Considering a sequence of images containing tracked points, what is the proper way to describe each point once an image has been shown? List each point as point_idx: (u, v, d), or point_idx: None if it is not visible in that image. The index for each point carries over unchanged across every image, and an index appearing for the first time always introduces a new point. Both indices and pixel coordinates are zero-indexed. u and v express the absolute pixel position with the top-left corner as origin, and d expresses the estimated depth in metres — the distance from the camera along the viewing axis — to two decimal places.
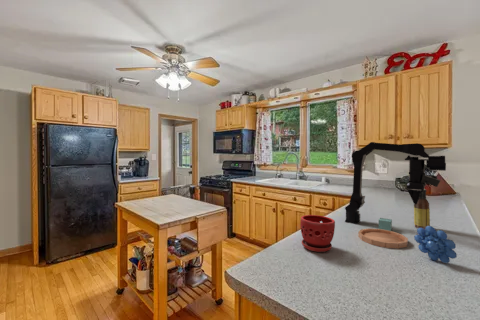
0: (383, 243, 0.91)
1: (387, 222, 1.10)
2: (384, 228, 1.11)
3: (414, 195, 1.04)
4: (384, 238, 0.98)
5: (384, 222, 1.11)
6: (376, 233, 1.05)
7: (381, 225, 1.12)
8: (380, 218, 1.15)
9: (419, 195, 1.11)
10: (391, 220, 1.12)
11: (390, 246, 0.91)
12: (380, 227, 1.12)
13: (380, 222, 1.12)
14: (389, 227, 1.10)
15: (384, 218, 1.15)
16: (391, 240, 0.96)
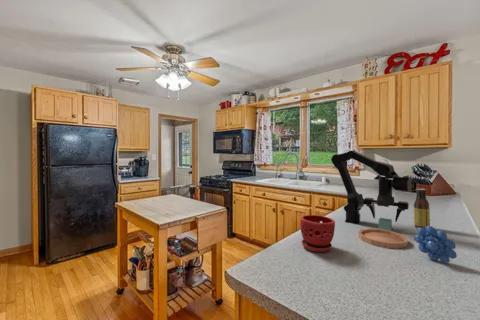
0: (383, 243, 0.91)
1: (387, 222, 1.10)
2: (384, 228, 1.11)
3: None
4: (384, 238, 0.98)
5: (384, 222, 1.11)
6: (376, 233, 1.05)
7: (381, 225, 1.12)
8: (380, 218, 1.15)
9: None
10: (391, 220, 1.12)
11: (390, 246, 0.91)
12: (380, 227, 1.12)
13: (380, 222, 1.12)
14: (389, 227, 1.10)
15: (384, 218, 1.15)
16: (391, 240, 0.96)
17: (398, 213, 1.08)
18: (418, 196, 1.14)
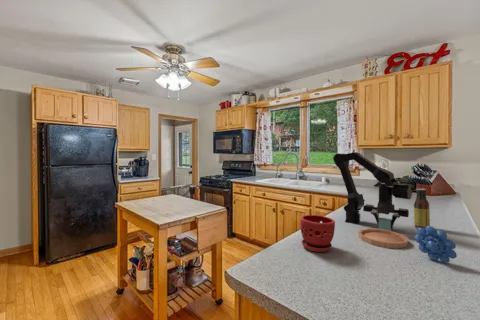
0: (383, 243, 0.91)
1: (387, 222, 1.10)
2: (384, 228, 1.11)
3: None
4: (384, 238, 0.98)
5: (384, 222, 1.11)
6: (376, 233, 1.05)
7: (381, 225, 1.12)
8: (380, 218, 1.15)
9: (391, 223, 1.11)
10: (391, 220, 1.12)
11: (390, 246, 0.91)
12: (380, 227, 1.12)
13: (380, 222, 1.12)
14: (389, 227, 1.10)
15: (384, 218, 1.15)
16: (391, 240, 0.96)
17: (393, 220, 1.09)
18: (418, 196, 1.14)
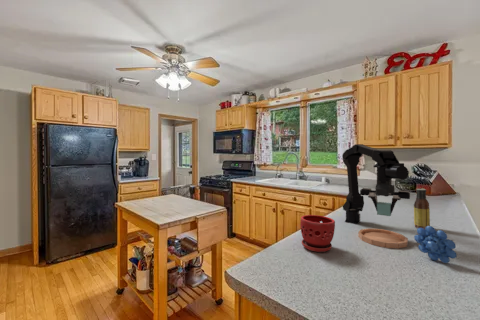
0: (383, 243, 0.91)
1: (386, 205, 1.00)
2: (383, 212, 1.00)
3: None
4: (384, 238, 0.98)
5: (383, 206, 1.00)
6: (376, 233, 1.05)
7: (380, 209, 1.01)
8: (378, 202, 1.05)
9: None
10: None
11: (390, 246, 0.91)
12: (379, 211, 1.02)
13: (379, 206, 1.01)
14: (389, 211, 0.99)
15: (383, 202, 1.05)
16: (391, 240, 0.96)
17: (393, 203, 0.99)
18: (418, 196, 1.14)
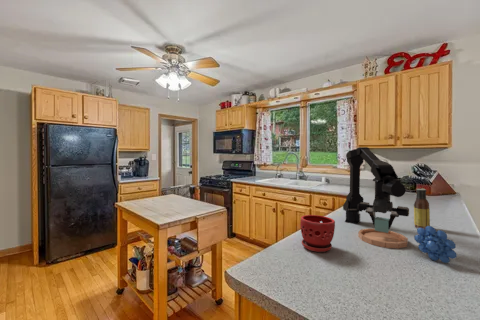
0: (383, 243, 0.91)
1: (384, 222, 0.97)
2: (381, 229, 0.97)
3: None
4: (384, 238, 0.98)
5: (381, 222, 0.97)
6: (376, 233, 1.05)
7: (377, 225, 0.98)
8: (376, 217, 1.01)
9: None
10: (389, 219, 0.99)
11: (390, 246, 0.91)
12: (376, 227, 0.98)
13: (376, 222, 0.98)
14: (386, 227, 0.96)
15: None
16: (391, 240, 0.96)
17: (391, 219, 0.96)
18: (418, 196, 1.14)
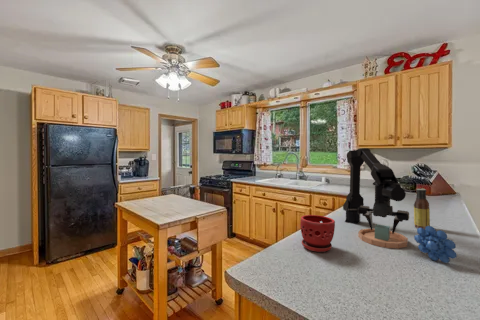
0: (383, 243, 0.91)
1: (384, 230, 0.97)
2: (381, 236, 0.97)
3: None
4: None
5: (381, 229, 0.97)
6: None
7: (377, 233, 0.98)
8: (376, 225, 1.01)
9: None
10: (389, 227, 0.99)
11: (390, 246, 0.91)
12: (376, 235, 0.98)
13: (376, 229, 0.98)
14: (387, 235, 0.96)
15: (381, 225, 1.01)
16: (391, 240, 0.96)
17: (395, 224, 0.95)
18: (418, 196, 1.14)
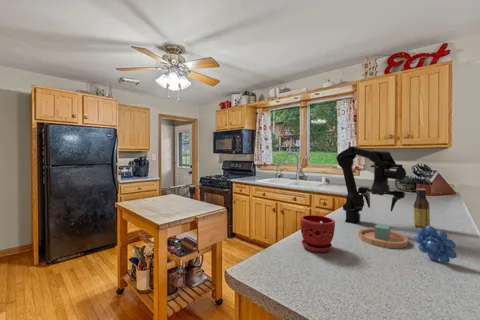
0: (383, 243, 0.91)
1: (384, 230, 0.97)
2: (381, 236, 0.97)
3: None
4: None
5: (381, 229, 0.97)
6: None
7: (377, 233, 0.98)
8: (376, 225, 1.01)
9: (391, 205, 1.05)
10: (389, 227, 0.99)
11: (390, 246, 0.91)
12: (376, 235, 0.98)
13: (376, 229, 0.98)
14: (387, 235, 0.96)
15: (381, 225, 1.01)
16: (391, 240, 0.96)
17: (393, 202, 1.04)
18: (418, 196, 1.14)
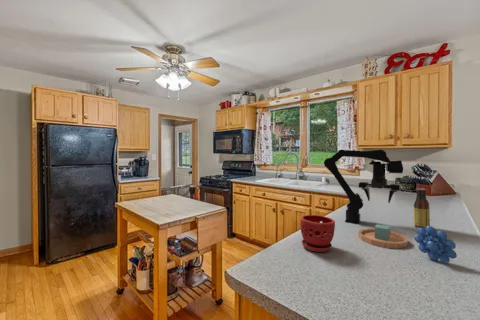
0: (383, 243, 0.91)
1: (384, 230, 0.97)
2: (381, 236, 0.97)
3: None
4: None
5: (381, 229, 0.97)
6: None
7: (377, 233, 0.98)
8: (376, 225, 1.01)
9: None
10: (389, 227, 0.99)
11: (390, 246, 0.91)
12: (376, 235, 0.98)
13: (376, 229, 0.98)
14: (387, 235, 0.96)
15: (381, 225, 1.01)
16: (391, 240, 0.96)
17: (391, 194, 1.17)
18: (418, 196, 1.14)
